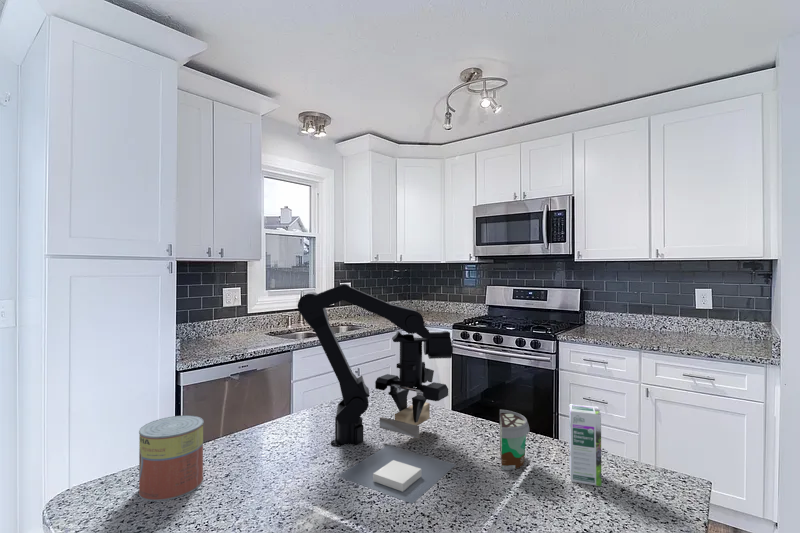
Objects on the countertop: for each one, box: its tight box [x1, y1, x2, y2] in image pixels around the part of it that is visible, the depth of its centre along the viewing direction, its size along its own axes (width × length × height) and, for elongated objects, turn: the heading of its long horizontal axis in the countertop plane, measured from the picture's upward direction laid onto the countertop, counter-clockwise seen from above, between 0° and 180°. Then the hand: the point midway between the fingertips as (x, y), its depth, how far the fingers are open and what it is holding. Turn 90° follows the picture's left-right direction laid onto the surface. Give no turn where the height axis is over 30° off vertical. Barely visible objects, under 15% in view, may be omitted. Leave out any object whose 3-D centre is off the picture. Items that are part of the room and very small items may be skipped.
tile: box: [373, 460, 421, 492], centre depth 83 cm, size 7×2×7 cm
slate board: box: [337, 444, 457, 505], centre depth 87 cm, size 18×18×1 cm
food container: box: [499, 409, 530, 471], centre depth 91 cm, size 12×6×10 cm, turn 168°
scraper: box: [379, 401, 431, 439], centre depth 105 cm, size 13×11×4 cm
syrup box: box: [568, 403, 603, 488], centre depth 85 cm, size 6×6×14 cm
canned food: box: [138, 414, 205, 502], centre depth 82 cm, size 11×11×12 cm
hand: (410, 420), depth 104 cm, fingers closed on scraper, 3 cm apart
